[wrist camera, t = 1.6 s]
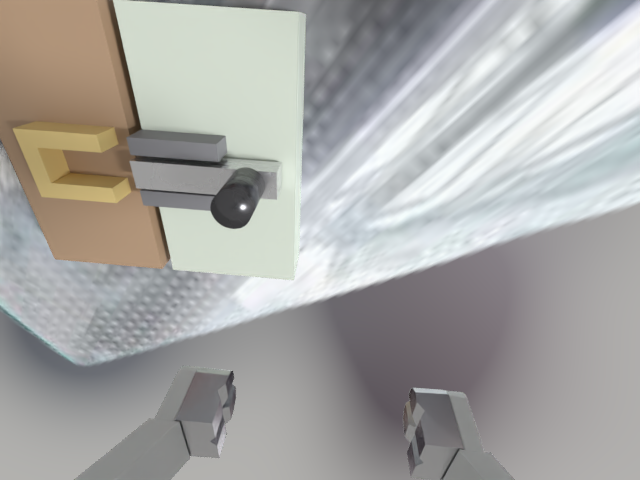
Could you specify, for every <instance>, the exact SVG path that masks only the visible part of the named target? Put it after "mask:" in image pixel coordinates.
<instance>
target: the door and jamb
mask: <svg viewBox="0 0 640 480" xmlns="http://www.w3.org/2000/svg"><path fill="white" fill-rule="evenodd" d="M305 33H306V14H304V13H301V12H294V11H279V10H264V9H249V8H234V7H219V6H204V5H189V4H174V3H159V2H144V1H129V0H0V139H1V141H2V143H3V145H4V148H5V150H6V152H7V154H8V156H9V159H10V161H11V163H12V165H13V167H14V170H15V172H16V174H17V176H18V179H19V181H20V183H21V185H22V187H23V190H24V192H25V194H26V196H27V198H28V201H29V203H30V205H31V207H32V209H33V212H34V214H35V216H36V218H37V221H38V223H39V225H40V227H41V229H42V232H43V234H44V236H45V238H46V240H47V243H48V245H49V247H50V249H51V251H52V254H53V256H54V258H55V259H58V260H69V261H81V262H92V263H103V264H115V265H126V266H137V267H149V268H160V269H163V267H164V266H165V265H166V263H167V262H168V261H169V259H170V258H171V262H172V266H173V270H183V271H194V272H206V273H217V274H228V275H240V276H251V277H262V278H274V279H285V280H294V277H295V272H296V267H297V262H298V258H299V241H300V206H301V172H302V137H303V103H304V68H305ZM136 156H149V157H162V158H174V159H187V160H199V161H212V162H219V161H220V160H221V159H222V158H232V159H245V160H258V161H270V162H282V189H281V191H280V194H279V196H278V199H277V200H274V199H262V198H261V199H260V201H259V203H258V205H257V207H256V209H255V211H254V213H253V215H252V217H251V219H250V221H249V222H248V224H247V225H245V226H244V227H242V228H238V229H230V228H226V227H224V226H222V225H220V224H219V223H218V222H217V221H216V220H215V219H214V217H213V216H212V213H211V210H210V205H211V202H212V200H213V198H214V197H215V196H216V195H213V194H200V193H188V192H176V191H164V190H152V189H139V188H136V185H135V181H134V177H133V173H132V169H131V165H130V160H132V159H133V158H135V157H136Z"/></svg>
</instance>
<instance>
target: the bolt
mask: <svg viewBox="0 0 640 480" xmlns="http://www.w3.org/2000/svg"><path fill="white" fill-rule="evenodd" d="M130 165H131V169H132V173H133V177H134V181H135V185H136V188H139V189H152V190H164V191H176V192H188V193H200V194H213V195H216V196H215V197H214V198H213V200H212V202H211V205H210V210H211V213H212V216H213V217H214V219H215V220H216V221H217V222H218V223H219V224H220V225H222V226H224V227H226V228H230V229H238V228H242V227H244V226H245V225H247V224H248V222H249V221H250V219H251V217H252V215H253V213H254V211H255V209H256V207H257V205H258V203H259V201H260V199H261V198H262V199H274V200H277V199H278V196H279V194H280V191H281V189H282V162H270V161H258V160H245V159H232V158H222V159H221V160H220V161H219V162H212V161H199V160H187V159H174V158H162V157H149V156H136V157H135V158H133V159H132V160H130Z"/></svg>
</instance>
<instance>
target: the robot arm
mask: <svg viewBox="0 0 640 480" xmlns="http://www.w3.org/2000/svg"><path fill="white" fill-rule="evenodd" d="M233 380H234V373H233V371H228V370H219V369H210V368H201V367H192V366H182V367H181V368H180V369H179V371H178V372H177V375H176V376H175V378H174V381H173V383H172V385H171V387H170V389H169V391H168V393H167V395H166V397H165V399H164V401H163V403H162V405H161V407H160V409H159V411H158V413H157V415H156V417H155V419H151V418H149V419H148V420H147V421H146V422H145V423H143V424H142V425H141V426H140V427H138V428H137V429H136V430H135V431H133V432H132V433H131V434H130V435H128V436H127V437H126V438H125V439H124V440H122V441H121V442H120V443H119V444H117V445H116V446H115V447H114V448H113V449H111V450H110V451H109V452H108V453H106V454H105V455H104V456H103V457H101V458H100V459H99V460H98V461H96V462H95V463H94V464H93V465H91V466H90V467H89V468H88V469H87V470H85V471H84V472H83V473H82V474H80V475H79V476H78V477H77V478H76V479H74V480H171V479H172V478H173V477H174V475H175V474H176V473H177V472H178V471H179V470H180V469H181V467H183V465H184V464H185V463H186V462H187V461H188V460H189V459H190V456H198V457H199V456H200V457H212V458H220V455H221V451H222V448H223V444H224V441H225V438H226V435H227V433H226V427H225V424H226V423H227V422H228V421H229V420H230V419H231V417H232V414H233V410H234V405H235V399H236V387H235V386H234V385H233V384H232V383H233ZM409 400H410V401H409V402H407V403H406V404H405V407H404V413H403V427H404V435H405V437H406V439H407V440H408V441H409V442H410V446H409V448H408V451H407V456H408V462H409V469H410V476H411V478H417V479H425V480H514V478H513V477H512V476H511V475H510V474H509V473H508V472H507V471H506V469H505V468H504V467H503V466H502V465H501V464H500V463H499V462H498V460H497V459H496V458H495V457H494V456H493V455H492V454H491V453H490V452H485V450H484V447H483V444H482V441H481V438H480V435H479V432H478V429H477V426H476V423H475V421H474V417H473V414H472V411H471V408H470V405H469V402H468V399H467V396H466V395H465V394H464V393H462V392H453V391H445V390H435V389H422V388H412V389H411V390H410V392H409Z"/></svg>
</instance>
